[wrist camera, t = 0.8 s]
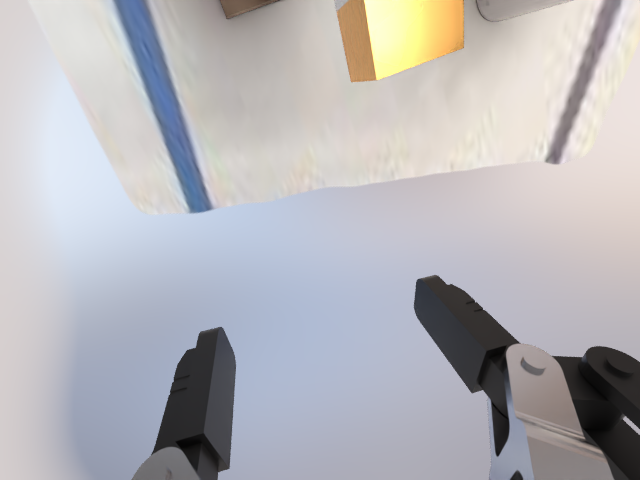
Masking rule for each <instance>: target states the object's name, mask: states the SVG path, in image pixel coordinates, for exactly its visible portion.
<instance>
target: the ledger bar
mask: <svg viewBox="0 0 640 480" xmlns="http://www.w3.org/2000/svg"><path fill="white" fill-rule="evenodd" d="M334 1H335V6H336V11H337V16H338V21H339V26H340V30H341V35H342V40H343V45H344V50H345V55H346V60H347V65H348V69H349V74H350V79H351V82H360V81H372V80H379V79H381V78H384V77H387V76H389V75H392V74H395V73H398V72H400V71H403V70H406V69H408V68H411V67H414V66H416V65H419V64H422V63H424V62H427V61H430V60H433V59H435V58H438V57H441V56H443V55H446V54H449V53H451V52H454V51H457V50H459V49H462V48H464V0H334Z"/></svg>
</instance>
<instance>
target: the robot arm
mask: <svg viewBox="0 0 640 480" xmlns="http://www.w3.org/2000/svg"><path fill="white" fill-rule="evenodd" d="M569 1H573V0H477V4H478V8H479V10H480V12H481V14H482V15H483V17H484V18H486V19H487V20H489V21H493V22H496V21H502V20H505V19H509V18H512V17H516V16H520V15H523V14H527V13H530V12H534V11H538V10H541V9H545V8H548V7H552V6H555V5H559V4H562V3H566V2H569ZM414 309H415V313H416V316H417V318H418V319H419V321H420V322H421V324H422V325H423V326H424V328H425V329H426V331H427V332H428V333H429V335H430V336H431V337H432V339H433V340H434V342H435V343H436V344H437V346H438V347H439V349H440V350H441V351H442V353H443V354H444V355H445V357H446V358H447V360H448V361H449V362H450V364H451V365H452V366H453V368H454V369H455V371H456V372H457V373H458V375H459V376H460V377H461V379H462V380H463V382H464V383H465V384H466V386H467V387H468V389H469V390H470V391H471V393H474V392H477V391H481V390H484V392H485V393H486V394H487V396H488V399H487V406H488V421H489V434H490V448H491V468H490V474H489V480H640V435H638V433H636V432H635V431H634V430H633V429H632V428H631V427H630V426H629V425H628V424H627V423H626V422H625V421H624V420H623V418H624V417H625V416H626V417H627V418H629V419H630V420H631V421H632V422H633V423H634V424H635V425H636V426H637V427H638V428H639V429H640V362H639V361H637V360H636V359H634V358H633V357H631V356H629V355H627V354H625V353H623V352H620V351H618V350H615V349H612V348H608V347H601V346H596V347H591V348H590V349H588V350H587V351H586V353H585V355H584V356H583V357H561V356H551V355H549V354H548V353H547V352H545V351H543V350H541V349H539V348H537V347H535V346H532V345H528V344H521V343H519V342H518V341H517V340H516V339H515V338H514V337H513V336H511V334H510V333H508V331H506V330H505V329H504V328H503V327H502V326H501V325H500V324H499V323H498V322H497V321H496V320H495V319H494V318H493V317H492V316H491V315H490V314H488V313H487V312H486V311H485V310H483V308H482V307H481V306H480V305H479V304H478V303H477V302H476V303H475V300H474V299H473V298H471V297H470V296H469V295H468V294H467V293H466V292H465V291H463V290H462V289H460V288H458V287H456V286H454V285H452V284H450V285H447V284H446V283H445V282H444V281H443V280H442V279H441V278H440V277H439V276H437V275H433V276H429V277H425V278H421V279H418V280H417V282H416V292H415V301H414ZM235 372H236V362H235V355H234V352H233V349H232V347H231V345H230V343H229V341H228V338H227V336H226V334H225V331H224V330H223V328H222V327H218V328H214V329H210V330H206V331H202V332H200V333H199V336H198V340H197V346H196V348H193V349H189V350H187V351H186V353H185V354H184V356H183V357H182V359H181V360H180V362H179V363H178V365H177V368H176V372H175V376H174V382H173V383H172V387H171V390H170V395H169V397H168V401H167V405H166V408H165V412H164V415H163V419H162V423H161V426H160V430H159V434H158V438H157V441H156V444H155V447H154V450H153V452H152V454H151V456H150V457H149V458H148V459H147V460H146V461H145V462H144V463H143V464H142V465H141V466H140V467H139V469H138V470H137V472H136V473H135V475H134V477H133V478H132V480H217V479H218V472H220V471H223V470H227V469H229V467H230V450H231V436H232V420H233V404H234V387H235Z"/></svg>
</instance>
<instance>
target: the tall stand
mask: <svg viewBox="0 0 640 480" xmlns="http://www.w3.org/2000/svg"><path fill="white" fill-rule="evenodd" d="M276 1H279V0H220V2H221V4H222V7H223V10H224V12H225V15H226V17H227V19H229V18H231V17H234V16H237V15H240V14H242V13H245V12H248V11H251V10H254V9H256V8H259V7H262V6H265V5H268V4H270V3H273V2H276Z"/></svg>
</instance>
